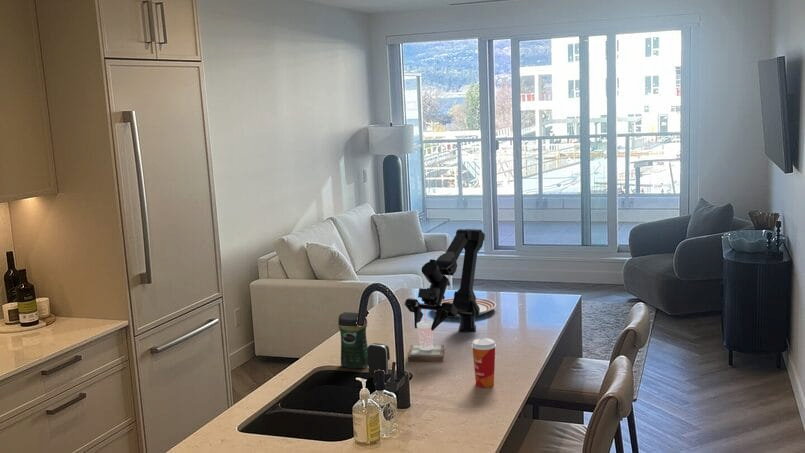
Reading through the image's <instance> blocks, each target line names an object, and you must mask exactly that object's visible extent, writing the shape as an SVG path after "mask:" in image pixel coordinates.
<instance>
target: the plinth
mask: <svg viewBox="0 0 805 453" xmlns="http://www.w3.org/2000/svg"><path fill="white" fill-rule="evenodd" d="M408 351H409V352H408V355H407V363H443V362H444V357H445V344H433V349H431V350H421V349H420V344H418V345H417V344H414V345H412V344H411V345H410V346H409V350H408Z"/></svg>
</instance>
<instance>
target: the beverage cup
mask: <svg viewBox="0 0 805 453" xmlns="http://www.w3.org/2000/svg"><path fill="white" fill-rule="evenodd" d="M423 316H424V318H423V320H421V321H420V322H418V323H417V332H418V341H419V345H420V349H421V350H431V349H433V345H434V330H433V331H432V330H431V327H432V324H433V321H432V320H431V321H430V320H427V317H426V309H423Z"/></svg>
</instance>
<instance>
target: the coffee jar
mask: <svg viewBox="0 0 805 453" xmlns="http://www.w3.org/2000/svg"><path fill="white" fill-rule="evenodd" d="M358 313H359V312H345V311H344V312H342V313H340V314H339V315H338V321H337V322H338V324H337V325H338V329H339V333H340V365H341V366H342V367H343V368H348V369H349V368H350V369H362V368H365V367H367V366H368V358H367V348H368V346H369V345H368V341H367V326H368V319H367V317H366V318H365V323H364V326H362V327H359V326H357V324H356V322H357V317H358Z"/></svg>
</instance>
